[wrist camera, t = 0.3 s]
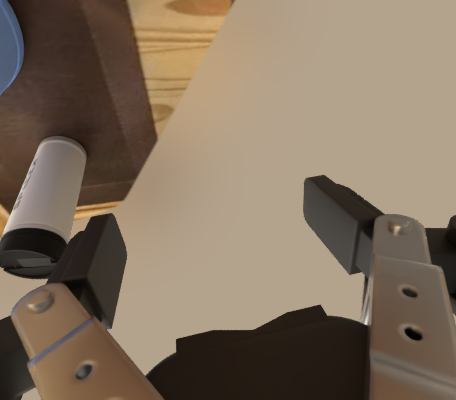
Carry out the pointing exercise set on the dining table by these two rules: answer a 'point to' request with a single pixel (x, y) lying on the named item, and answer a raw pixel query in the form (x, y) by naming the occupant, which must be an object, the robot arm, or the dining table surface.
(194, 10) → the dining table surface
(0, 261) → the travel mug
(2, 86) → the water jug
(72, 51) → the dining table surface
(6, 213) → the dining table surface
